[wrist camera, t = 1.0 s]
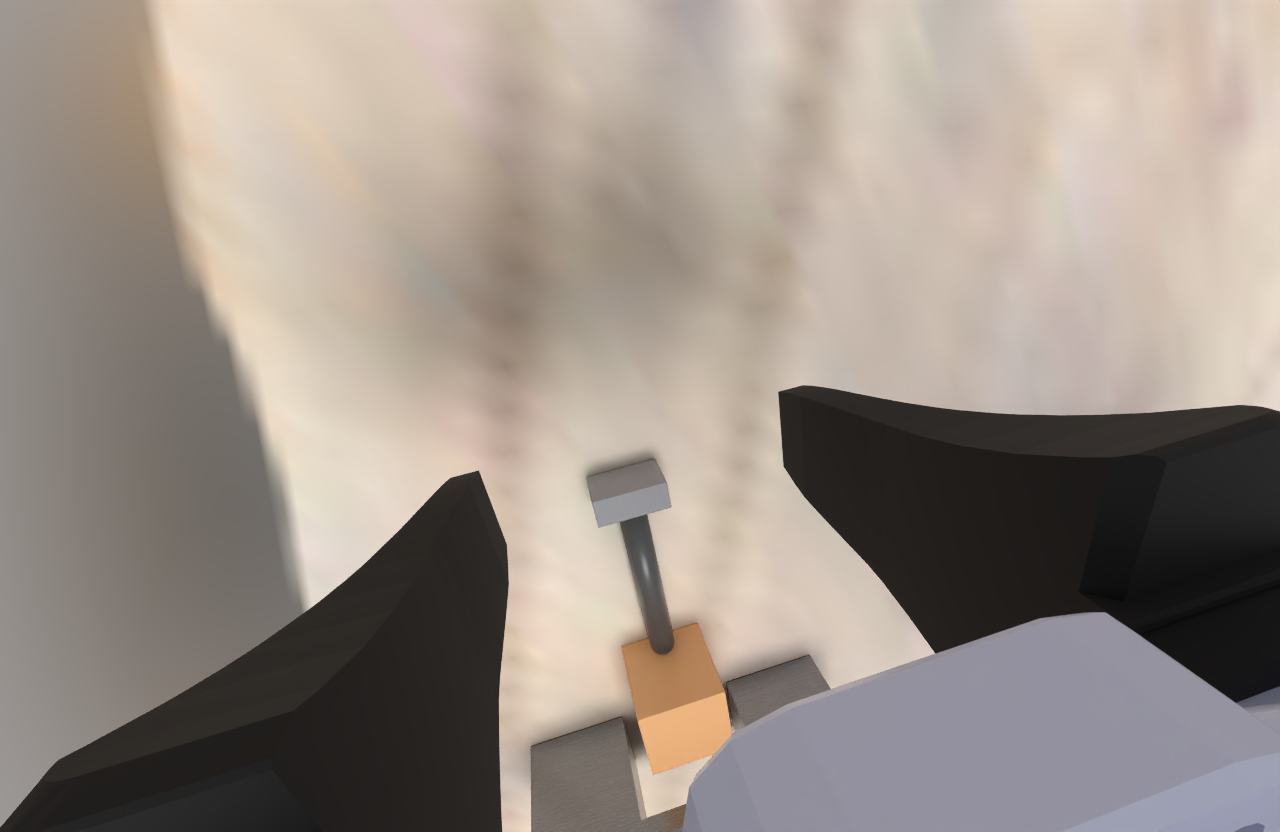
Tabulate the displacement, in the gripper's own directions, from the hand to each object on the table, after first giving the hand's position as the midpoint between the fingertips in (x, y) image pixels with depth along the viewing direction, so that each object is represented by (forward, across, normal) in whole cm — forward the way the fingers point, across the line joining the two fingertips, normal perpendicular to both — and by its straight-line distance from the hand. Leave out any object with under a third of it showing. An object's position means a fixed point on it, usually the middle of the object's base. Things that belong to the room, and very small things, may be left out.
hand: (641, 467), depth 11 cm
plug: (+8, 0, +12) cm, 15 cm away
